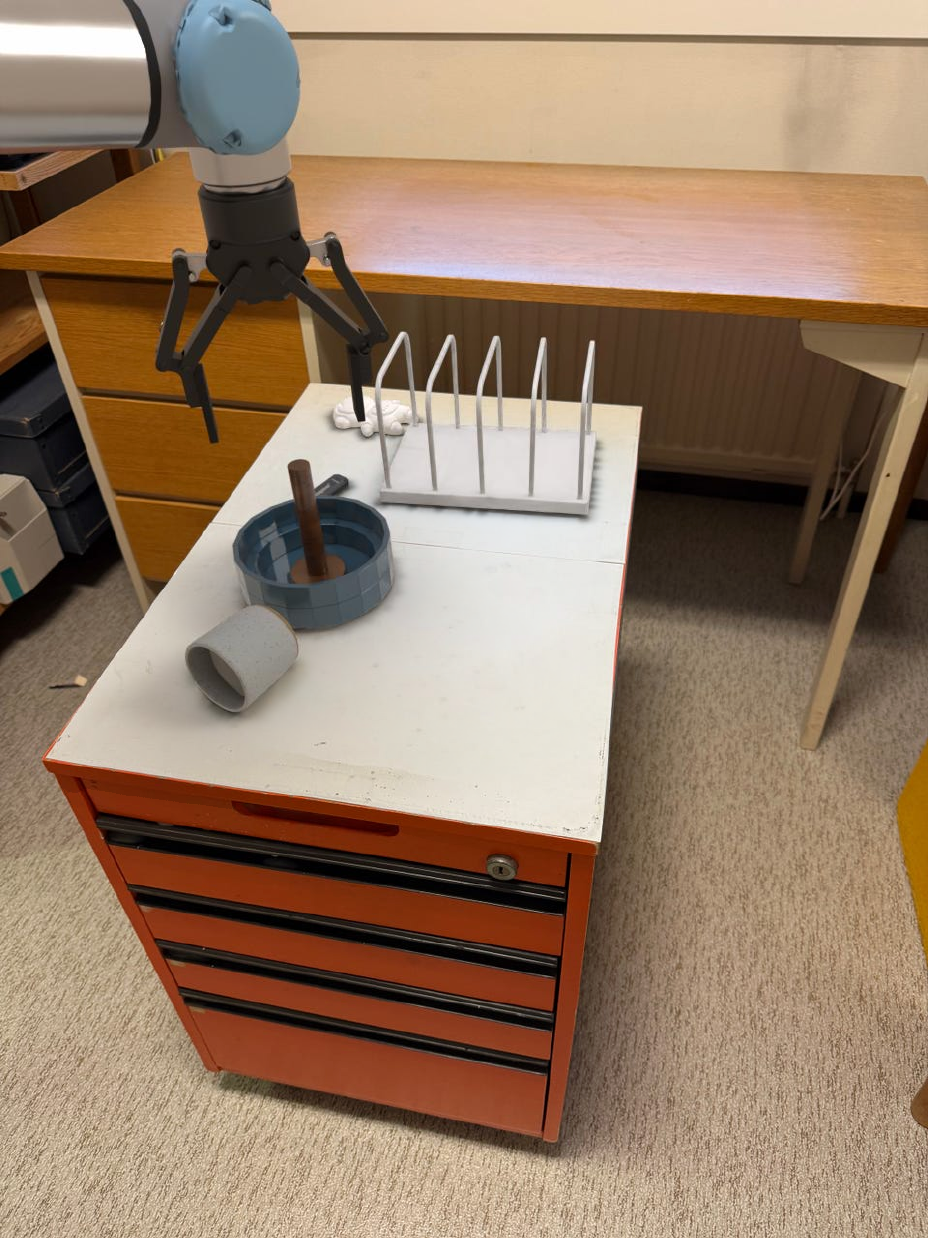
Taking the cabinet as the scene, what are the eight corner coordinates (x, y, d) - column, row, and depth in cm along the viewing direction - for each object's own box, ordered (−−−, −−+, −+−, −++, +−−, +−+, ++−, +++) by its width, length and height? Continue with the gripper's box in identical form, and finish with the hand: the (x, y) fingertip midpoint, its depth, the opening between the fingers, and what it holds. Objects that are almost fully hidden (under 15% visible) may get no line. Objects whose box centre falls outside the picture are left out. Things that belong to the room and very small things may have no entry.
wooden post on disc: (294, 600, 93) (270, 485, 83) (288, 567, 97) (265, 454, 88) (350, 590, 94) (333, 475, 84) (342, 557, 98) (325, 444, 89)
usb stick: (302, 524, 104) (300, 513, 103) (285, 518, 105) (283, 507, 104) (351, 486, 110) (350, 476, 109) (335, 481, 111) (334, 470, 110)
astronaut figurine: (388, 445, 117) (386, 424, 116) (320, 422, 123) (317, 403, 121) (427, 417, 123) (425, 397, 121) (360, 397, 128) (358, 378, 126)
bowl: (249, 646, 88) (237, 600, 84) (239, 553, 100) (228, 509, 96) (407, 616, 91) (402, 570, 87) (379, 529, 103) (374, 485, 99)
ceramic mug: (310, 669, 85) (297, 608, 80) (254, 724, 80) (236, 662, 75) (229, 635, 90) (211, 576, 85) (170, 685, 85) (148, 625, 80)
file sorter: (596, 443, 116) (604, 328, 106) (587, 518, 103) (596, 396, 93) (410, 433, 120) (401, 321, 109) (379, 504, 107) (366, 385, 97)
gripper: (392, 154, 74) (409, 389, 87) (81, 183, 69) (151, 426, 83) (411, 176, 68) (426, 424, 82) (74, 210, 64) (150, 465, 78)
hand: (287, 425), depth 83 cm, fingers open, 13 cm apart
